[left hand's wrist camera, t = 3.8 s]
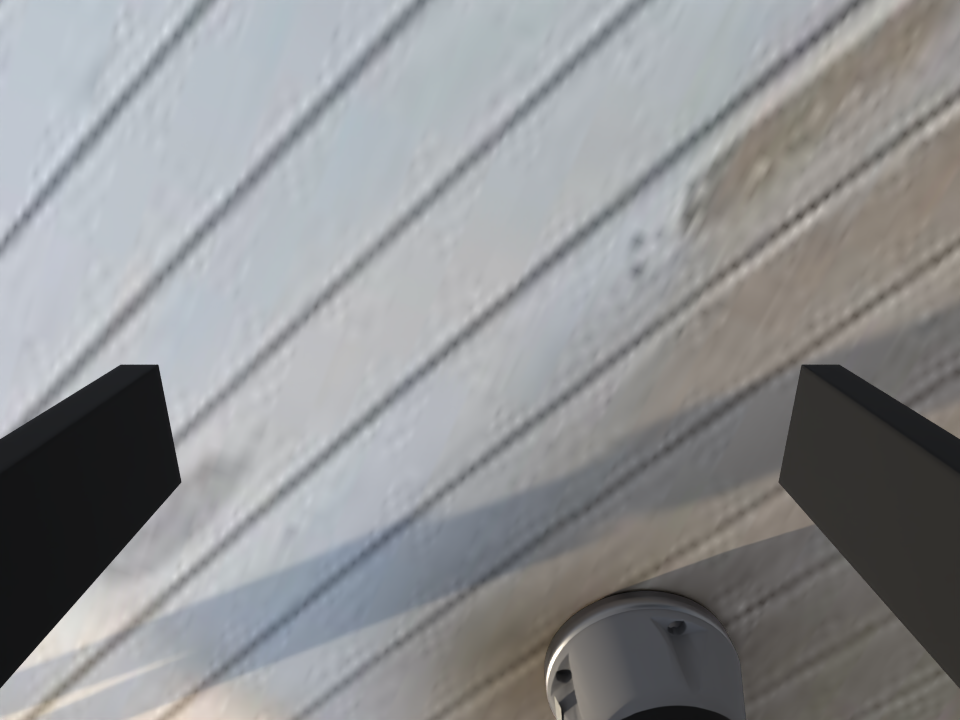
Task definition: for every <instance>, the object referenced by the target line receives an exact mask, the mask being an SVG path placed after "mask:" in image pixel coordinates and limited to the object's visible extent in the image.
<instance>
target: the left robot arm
mask: <svg viewBox="0 0 960 720" xmlns="http://www.w3.org/2000/svg"><path fill="white" fill-rule="evenodd" d="M180 483H181V478H180V473H179V467H178V462H177V457H176V452H175V447H174V442H173V437H172V432H171V427H170V422H169V417H168V412H167V406H166V401H165V396H164V391H163V386H162V381H161V376H160V371H159V366H158V365H120V366H118V367H116V368H115V369H113V370H111V371H110V372H108V373H107V374H105V375H103V376H102V377H100V378H98V379H97V380H95V381H94V382H92V383H90V384H89V385H87V386H86V387H84V388H82V389H81V390H79V391H77V392H76V393H74V394H73V395H71V396H69V397H68V398H66V399H65V400H63V401H61V402H60V403H58V404H56V405H55V406H53V407H52V408H50V409H48V410H47V411H45V412H44V413H42V414H40V415H39V416H37V417H35V418H34V419H32V420H31V421H29V422H27V423H26V424H24V425H22V426H21V427H19V428H18V429H16V430H14V431H13V432H11V433H10V434H8V435H6V436H5V437H3V438H1V439H0V688H1V687H2V686H3V685H4V684H5V682H6V681H7V680H8V679H9V678H10V677H11V676H12V674H13V673H14V672H15V671H16V670H17V669H18V668H19V666H20V665H21V664H22V663H23V662H24V661H25V660H26V658H27V657H28V656H29V655H30V654H31V653H32V652H33V651H34V649H35V648H36V647H37V646H38V645H39V644H40V643H41V641H42V640H43V639H44V638H45V637H46V636H47V635H48V633H49V632H50V631H51V630H52V629H53V628H54V627H55V626H56V624H57V623H58V622H59V621H60V620H61V619H62V618H63V616H64V615H65V614H66V613H67V612H68V611H69V610H70V608H71V607H72V606H73V605H74V604H75V603H76V602H77V600H78V599H79V598H80V597H81V596H82V595H83V594H84V593H85V591H86V590H87V589H88V588H89V587H90V586H91V585H92V583H93V582H94V581H95V580H96V579H97V578H98V577H99V575H100V574H101V573H102V572H103V571H104V570H105V569H106V567H107V566H108V565H109V564H110V563H111V562H112V561H113V560H114V558H115V557H116V556H117V555H118V554H119V553H120V552H121V550H122V549H123V548H124V547H125V546H126V545H127V544H128V542H129V541H130V540H131V539H132V538H133V537H134V536H135V534H136V533H137V532H138V531H139V530H140V529H141V528H142V527H143V525H144V524H145V523H146V522H147V521H148V520H149V519H150V517H151V516H152V515H153V514H154V513H155V512H156V511H157V509H158V508H159V507H160V506H161V505H162V504H163V503H164V502H165V500H166V499H167V498H168V497H169V496H170V495H171V494H172V492H173V491H174V490H175V489H176V488H177V487H178V486H179V484H180ZM779 483H780V484H781V486H782V487H783V488H784V489H785V490H786V491H787V492H788V494H789V495H790V496H791V497H792V498H793V499H794V500H795V502H796V503H797V504H798V505H799V506H800V507H801V508H802V509H803V511H804V512H805V513H806V514H807V515H808V516H809V517H810V519H811V520H812V521H813V522H814V523H815V524H816V525H817V527H818V528H819V529H820V530H821V531H822V532H823V533H824V535H825V536H826V537H827V538H828V539H829V540H830V541H831V542H832V544H833V545H834V546H835V547H836V548H837V549H838V550H839V552H840V553H841V554H842V555H843V556H844V557H845V558H846V560H847V561H848V562H849V563H850V564H851V565H852V566H853V567H854V569H855V570H856V571H857V572H858V573H859V574H860V575H861V577H862V578H863V579H864V580H865V581H866V582H867V583H868V585H869V586H870V587H871V588H872V589H873V590H874V591H875V593H876V594H877V595H878V596H879V597H880V598H881V599H882V600H883V602H884V603H885V604H886V605H887V606H888V607H889V608H890V610H891V611H892V612H893V613H894V614H895V615H896V616H897V618H898V619H899V620H900V621H901V622H902V623H903V624H904V626H905V627H906V628H907V629H908V630H909V631H910V632H911V633H912V635H913V636H914V637H915V638H916V639H917V640H918V641H919V643H920V644H921V645H922V646H923V647H924V648H925V649H926V651H927V652H928V653H929V654H930V655H931V656H932V657H933V659H934V660H935V661H936V662H937V663H938V664H939V665H940V666H941V668H942V669H943V670H944V671H945V672H946V673H947V674H948V676H949V677H950V678H951V679H952V680H953V681H954V682H955V684H956V685H957V686H958V687H959V688H960V439H959V438H957V437H955V436H954V435H952V434H950V433H949V432H947V431H946V430H944V429H942V428H941V427H939V426H938V425H936V424H934V423H933V422H931V421H929V420H928V419H926V418H925V417H923V416H921V415H920V414H918V413H916V412H915V411H913V410H912V409H910V408H908V407H907V406H905V405H904V404H902V403H900V402H899V401H897V400H895V399H894V398H892V397H891V396H889V395H887V394H886V393H884V392H883V391H881V390H879V389H878V388H876V387H874V386H873V385H871V384H870V383H868V382H866V381H865V380H863V379H862V378H860V377H858V376H857V375H855V374H853V373H852V372H850V371H849V370H847V369H845V368H844V367H842V366H840V365H802V366H801V371H800V376H799V381H798V386H797V391H796V396H795V401H794V406H793V412H792V417H791V422H790V427H789V432H788V437H787V442H786V447H785V452H784V457H783V462H782V467H781V472H780V478H779ZM544 674H545V683H546V691H547V698H548V702H549V705H550V708H551V710H552V712H553V714H554V716H555V718H556V720H746V715H745V705H744V695H743V686H742V676H741V666H740V661H739V657H738V654H737V652H736V650H735V648H734V646H733V644H732V642H731V640H730V638H729V636H728V634H727V632H726V630H725V628H724V627H723V625H722V624H721V622H720V621H719V620H718V619H717V618H716V617H715V616H714V615H713V614H712V613H711V612H710V611H709V610H707V609H706V608H705V607H703V606H701V605H700V604H698V603H696V602H694V601H692V600H690V599H687V598H685V597H682V596H679V595H675V594H671V593H665V592H657V591H636V592H628V593H622V594H618V595H613V596H610V597H607V598H604V599H602V600H599V601H597V602H595V603H592V604H590V605H588V606H587V607H585V608H583V609H582V610H580V611H579V612H577V613H576V614H575V615H573V616H572V617H571V618H570V619H569V620H568V621H566V622H565V624H564V625H563V626H562V627H561V628H560V629H559V630H558V632H557V633H556V634H555V636H554V638H553V639H552V641H551V643H550V645H549V647H548V650H547V653H546V658H545V665H544Z"/></svg>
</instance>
